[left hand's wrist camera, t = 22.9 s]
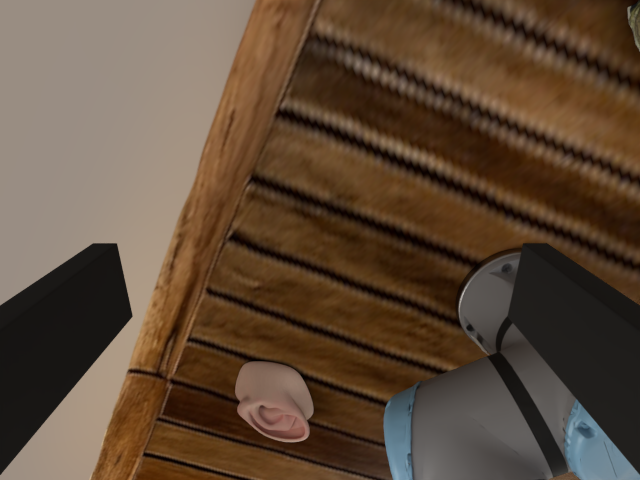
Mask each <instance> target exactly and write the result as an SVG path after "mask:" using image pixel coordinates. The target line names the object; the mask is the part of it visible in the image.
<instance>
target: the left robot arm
mask: <svg viewBox="0 0 640 480" xmlns="http://www.w3.org/2000/svg"><path fill="white" fill-rule="evenodd" d="M456 314H457V317H458V320H459V322H460V324H461V326H462V328H463V329H464V331H465V332H466V334H467V335H468V336H469V337H470V338H471V339H472V340H473V341H474V342H475V343H476V344H477V345H478V346H479V347H480V348H481V349H482V351H484V352H485V353H487V351H488V352H489V353H490V354H492V355H489V354H488V353H487V354H488V355H489V356H487V357H484V358H481V359H479V360H476V361H474V362H472V363H469V364H467V365H464V366H462V367H459V368H457V369H454V370H452V371H449V372H446V373H444V374H441V375H439V376H436V377H433V378H431V379H428V380H426V381H419V382H417V383H416V384H415V385H414V386H413V387H411V388H409V389H406V390H404V391H402V392H400V393H398V394H396V395H394V396H393V397H392V398H391V399H390V400H389V401H388V403H387V406H386V409H385V414H384V436H385V444H386V450H387V456H388V460H389V465H390V469H391V473H392V477H393V480H548V479H550V478H553V477H556V476H559V475H562V474H565V473H568V472H571V471H573V473H574V475H576V476H577V477H578V478H579V479H581V480H640V305H638V304H637V303H635V302H634V301H632V300H631V299H629V298H628V297H626V296H625V295H623V294H622V293H620V292H619V291H617V290H616V289H614V288H613V287H611V286H610V285H608V284H607V283H605V282H604V281H602V280H601V279H599V278H598V277H596V276H595V275H593V274H592V273H590V272H589V271H587V270H586V269H584V268H583V267H581V266H580V265H578V264H577V263H575V262H574V261H572V260H571V259H569V258H568V257H566V256H565V255H563V254H562V253H560V252H559V251H557V250H556V249H554V248H553V247H551V246H550V245H548V244H547V243H523V246H522V249H512V250H507V251H503V252H500V253H497V254H495V255H493V256H490V257H489V258H487V259H485V260H484V261H482V262H481V263H479V264H478V265H477V266H476V267H475V268H473V269H472V270H471V271H470V273H469V274H468V275H467V276H466V278H465V279H464V281H463V282H462V284H461V286H460V288H459V291H458V294H457V298H456ZM131 318H132V311H131V307H130V302H129V297H128V293H127V288H126V283H125V279H124V274H123V270H122V265H121V260H120V256H119V251H118V246H117V244H116V243H94V244H92V245H90V246H89V247H87V248H86V249H84V250H83V251H81V252H80V253H78V254H77V255H75V256H74V257H72V258H71V259H69V260H68V261H66V262H65V263H63V264H62V265H60V266H59V267H57V268H56V269H54V270H53V271H51V272H50V273H48V274H47V275H45V276H44V277H42V278H41V279H39V280H38V281H36V282H35V283H33V284H32V285H30V286H29V287H27V288H26V289H24V290H23V291H21V292H20V293H18V294H17V295H15V296H14V297H12V298H11V299H9V300H8V301H6V302H5V303H3V304H2V305H0V475H1V474H2V472H3V471H4V470H5V469H6V468H7V466H8V465H9V464H10V463H11V461H12V460H13V459H14V458H15V457H16V456H17V454H18V453H19V452H20V451H21V450H22V448H23V447H24V446H25V445H26V444H27V442H28V441H29V440H30V439H31V437H32V436H33V435H34V434H35V433H36V432H37V430H38V429H39V428H40V427H41V425H42V424H43V423H44V422H45V421H46V420H47V418H48V417H49V416H50V415H51V414H52V412H53V411H54V410H55V409H56V408H57V406H58V405H59V404H60V403H61V402H62V400H63V399H64V398H65V397H66V396H67V394H68V393H69V392H70V391H71V390H72V388H73V387H74V386H75V385H76V384H77V382H78V381H79V380H80V379H81V378H82V376H83V375H84V374H85V373H86V372H87V370H88V369H89V368H90V367H91V366H92V364H93V363H94V362H95V361H96V360H97V358H98V357H99V356H100V355H101V354H102V352H103V351H104V350H105V349H106V348H107V346H108V345H109V344H110V343H111V342H112V340H113V339H114V338H115V337H116V336H117V334H118V333H119V332H120V331H121V330H122V328H123V327H124V326H125V325H126V324H127V322H128V321H129V320H130V319H131Z"/></svg>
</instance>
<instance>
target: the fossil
mask: <svg viewBox="0 0 640 480" xmlns="http://www.w3.org/2000/svg"><path fill="white" fill-rule="evenodd" d="M628 20H629V25H630V27H631V28H632V31H633V34H634V38H635V43H636V46H637V47H638V49H639V51H640V0H639V1H638V2H637V3H636V4H635V5H632V6H630V7H628Z"/></svg>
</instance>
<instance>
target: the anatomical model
mask: <svg viewBox="0 0 640 480" xmlns="http://www.w3.org/2000/svg"><path fill="white" fill-rule="evenodd" d="M235 393H236V396H237V398H238V399H239V400H240V401H241V402H240V404H239V405H238V409H237V410H238V413H239V415H240V416H241V417H242V418H243V419H245V420H246V421H247V422H248V423H249V424H250V425H251V426H253V427H254V428H255V429H256V430H257V431H259V432H260V433H262V434H263V435H265V436H267V437H269V438H272V439H275V440H279V441H284V442H298V441H302V440H305V439H306V438H307V437H308V435H309V425H308V422H307V420H308V419H309V418H310V417H311V416H312V414H313V411H314V408H313V402H312V399H311V396H310V393H309V391H308V388H307V386H306V384H305V382H304V380H303V379H302V377H301V376H300V374H299V373H298V372H297V371H296V370H294V369H292V368H291V367H288V366H286V365H282V364H278V363H273V362H264V361H252V362H248V363H246V364H244V365H243V366H242V368H241V370H240V372H239V375H238V378H237V381H236V389H235Z"/></svg>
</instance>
